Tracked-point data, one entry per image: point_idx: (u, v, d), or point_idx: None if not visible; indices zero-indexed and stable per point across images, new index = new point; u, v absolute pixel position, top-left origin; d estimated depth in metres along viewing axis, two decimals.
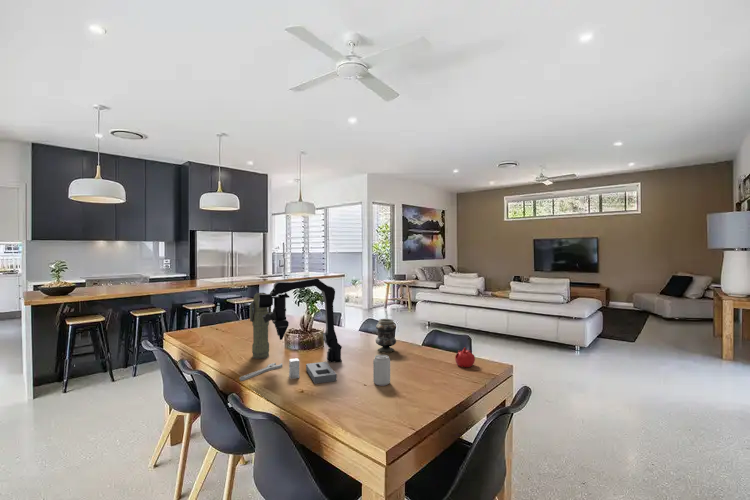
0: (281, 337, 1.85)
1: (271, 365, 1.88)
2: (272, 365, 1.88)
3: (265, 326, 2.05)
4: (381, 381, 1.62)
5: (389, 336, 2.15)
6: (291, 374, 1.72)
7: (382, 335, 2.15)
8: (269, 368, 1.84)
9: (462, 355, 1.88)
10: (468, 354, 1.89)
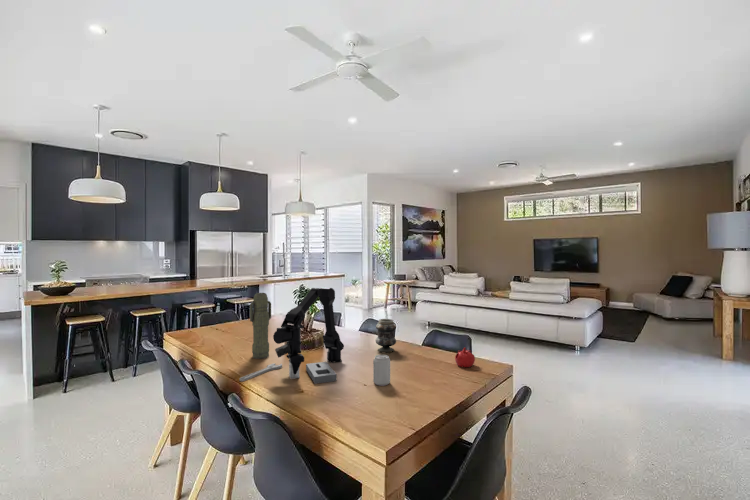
0: (295, 371, 1.72)
1: (271, 365, 1.87)
2: (272, 365, 1.87)
3: (265, 326, 2.05)
4: (381, 381, 1.62)
5: (389, 336, 2.15)
6: (291, 374, 1.72)
7: (382, 335, 2.15)
8: (269, 369, 1.83)
9: (462, 355, 1.88)
10: (468, 354, 1.89)
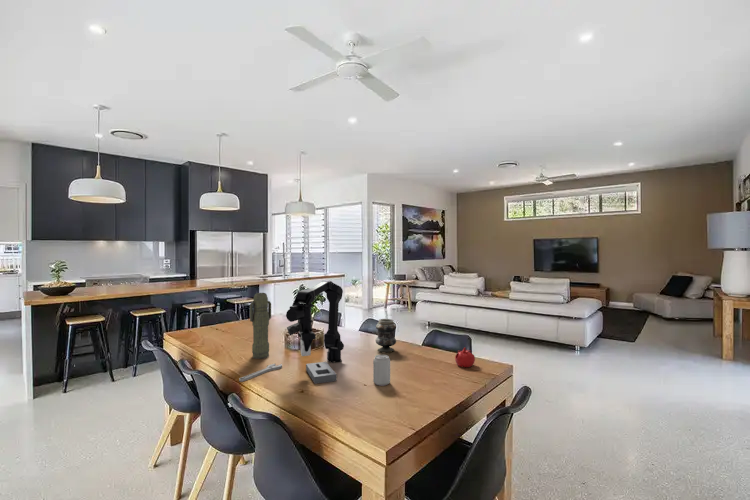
0: (307, 349, 1.75)
1: (271, 366, 1.86)
2: (272, 366, 1.86)
3: (265, 326, 2.05)
4: (381, 381, 1.62)
5: (389, 336, 2.15)
6: (303, 351, 1.75)
7: (382, 335, 2.15)
8: (269, 369, 1.83)
9: (462, 355, 1.88)
10: (468, 354, 1.89)
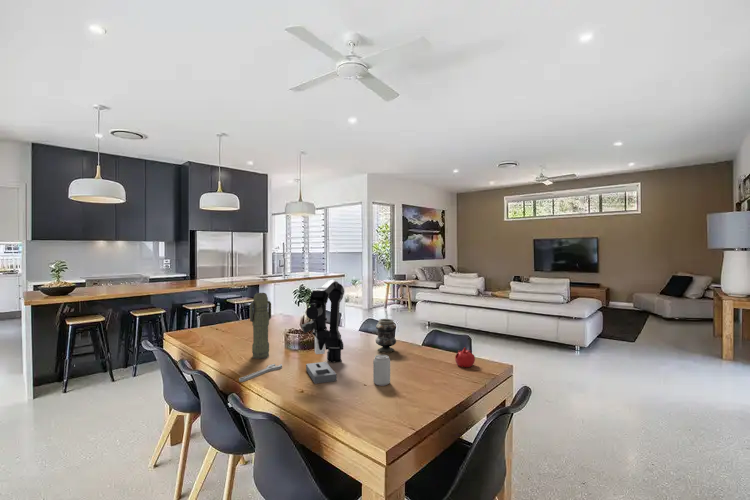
0: (321, 347, 1.75)
1: (271, 366, 1.86)
2: (272, 366, 1.86)
3: (265, 326, 2.05)
4: (381, 381, 1.62)
5: (389, 336, 2.15)
6: (317, 349, 1.75)
7: (382, 335, 2.15)
8: (269, 369, 1.82)
9: (462, 355, 1.88)
10: (468, 354, 1.89)
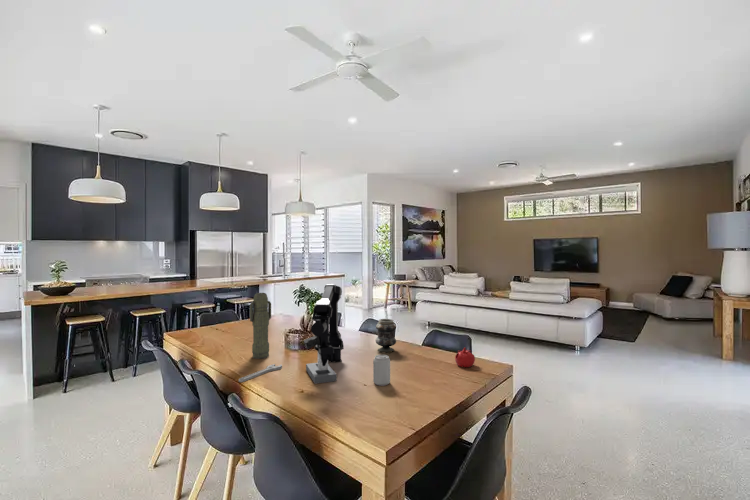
0: (324, 363, 1.70)
1: (270, 366, 1.86)
2: (271, 366, 1.86)
3: (265, 326, 2.05)
4: (381, 381, 1.62)
5: (389, 336, 2.15)
6: (320, 366, 1.70)
7: (382, 335, 2.15)
8: (268, 369, 1.82)
9: (462, 355, 1.88)
10: (468, 354, 1.89)
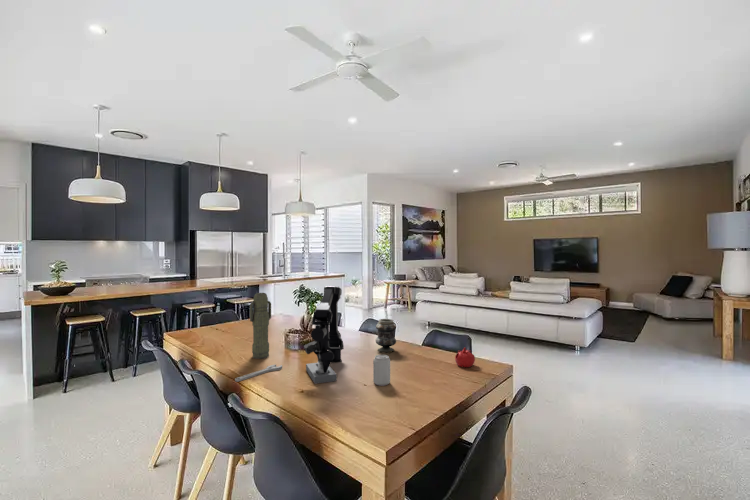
0: (325, 370, 1.68)
1: (271, 367, 1.85)
2: (271, 367, 1.85)
3: (265, 326, 2.05)
4: (381, 381, 1.62)
5: (389, 336, 2.15)
6: None
7: (382, 335, 2.15)
8: (268, 370, 1.81)
9: (462, 355, 1.88)
10: (468, 354, 1.89)
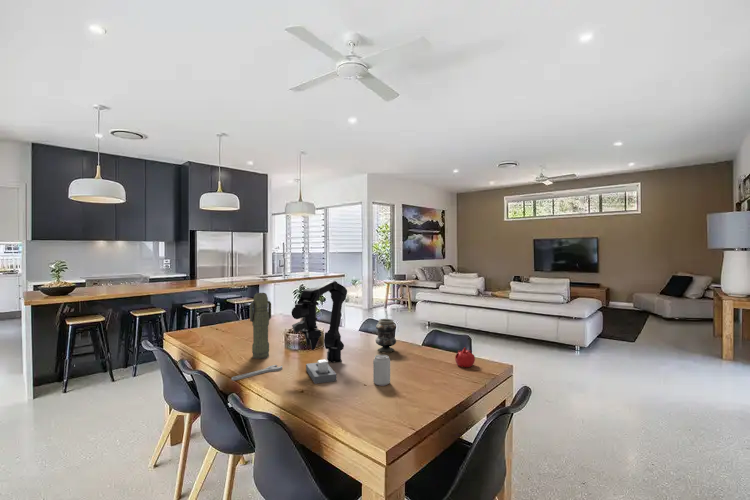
0: (313, 347, 1.77)
1: (270, 367, 1.85)
2: (271, 367, 1.85)
3: (265, 326, 2.05)
4: (381, 381, 1.62)
5: (389, 336, 2.15)
6: None
7: (382, 335, 2.15)
8: (266, 370, 1.81)
9: (462, 355, 1.88)
10: (468, 354, 1.89)
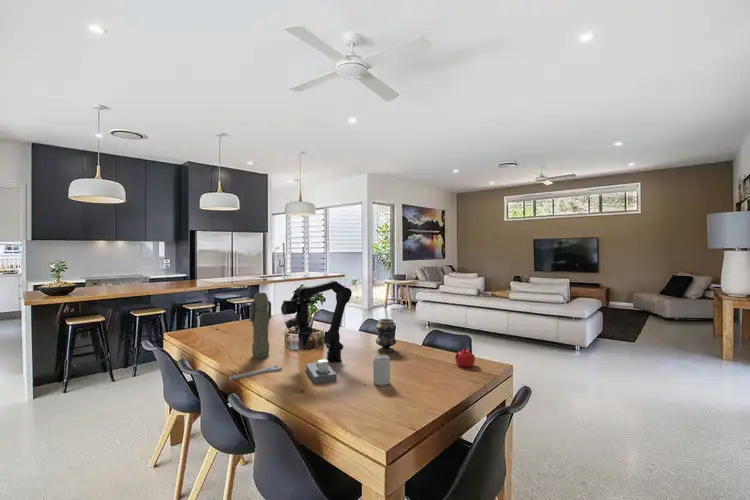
0: (304, 343, 1.83)
1: (270, 367, 1.84)
2: (271, 367, 1.84)
3: (265, 326, 2.05)
4: (381, 381, 1.62)
5: (389, 336, 2.15)
6: None
7: (382, 335, 2.15)
8: (265, 370, 1.81)
9: (462, 355, 1.88)
10: (468, 354, 1.89)
